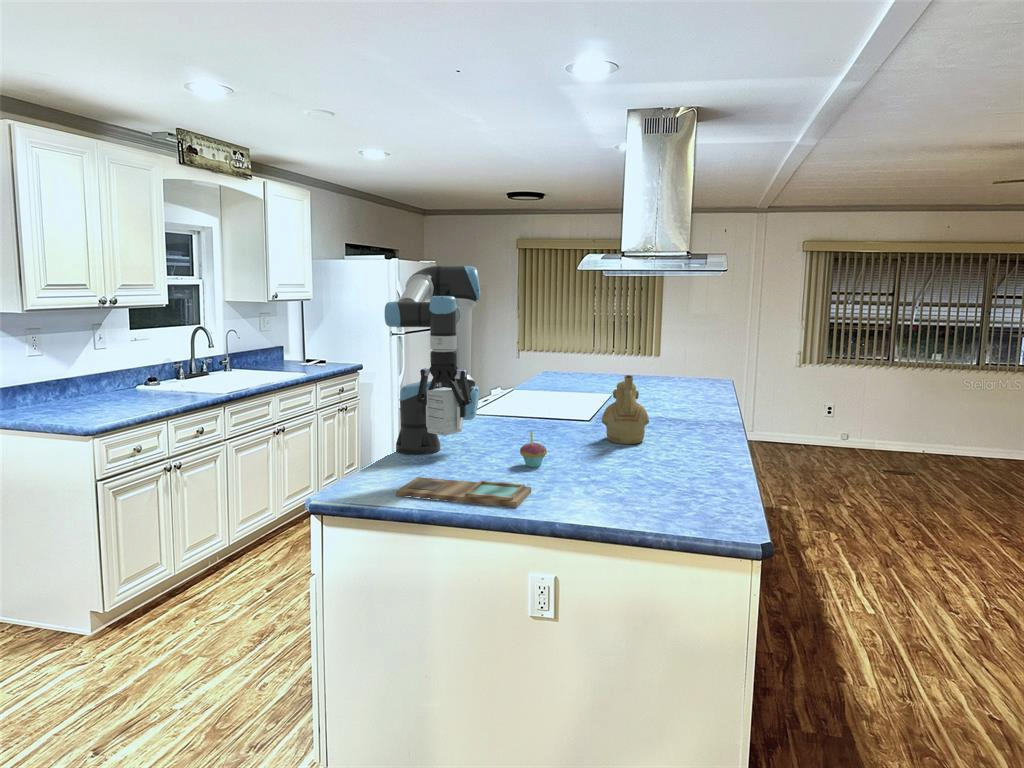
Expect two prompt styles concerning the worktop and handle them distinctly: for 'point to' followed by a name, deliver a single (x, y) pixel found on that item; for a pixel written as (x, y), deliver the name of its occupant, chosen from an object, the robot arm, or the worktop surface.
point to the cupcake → (533, 453)
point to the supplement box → (442, 412)
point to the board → (467, 491)
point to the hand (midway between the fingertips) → (444, 427)
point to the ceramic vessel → (625, 415)
